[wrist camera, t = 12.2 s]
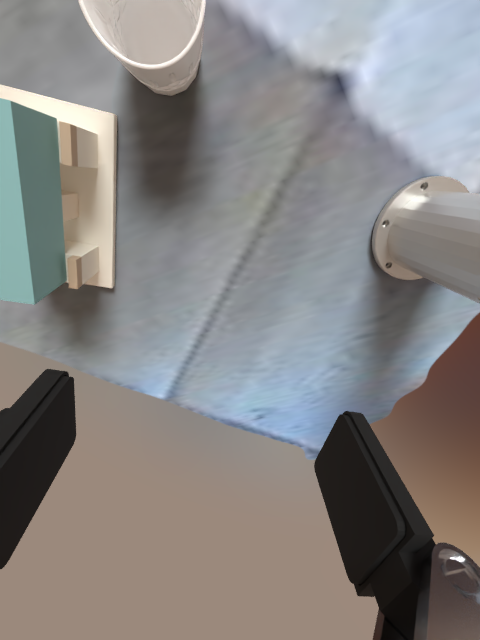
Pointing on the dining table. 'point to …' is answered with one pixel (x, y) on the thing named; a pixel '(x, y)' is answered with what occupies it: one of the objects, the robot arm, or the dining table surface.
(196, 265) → the dining table surface
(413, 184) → the robot arm
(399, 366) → the dining table surface
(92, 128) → the stand
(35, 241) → the teal bar
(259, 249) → the dining table surface
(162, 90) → the white cup
